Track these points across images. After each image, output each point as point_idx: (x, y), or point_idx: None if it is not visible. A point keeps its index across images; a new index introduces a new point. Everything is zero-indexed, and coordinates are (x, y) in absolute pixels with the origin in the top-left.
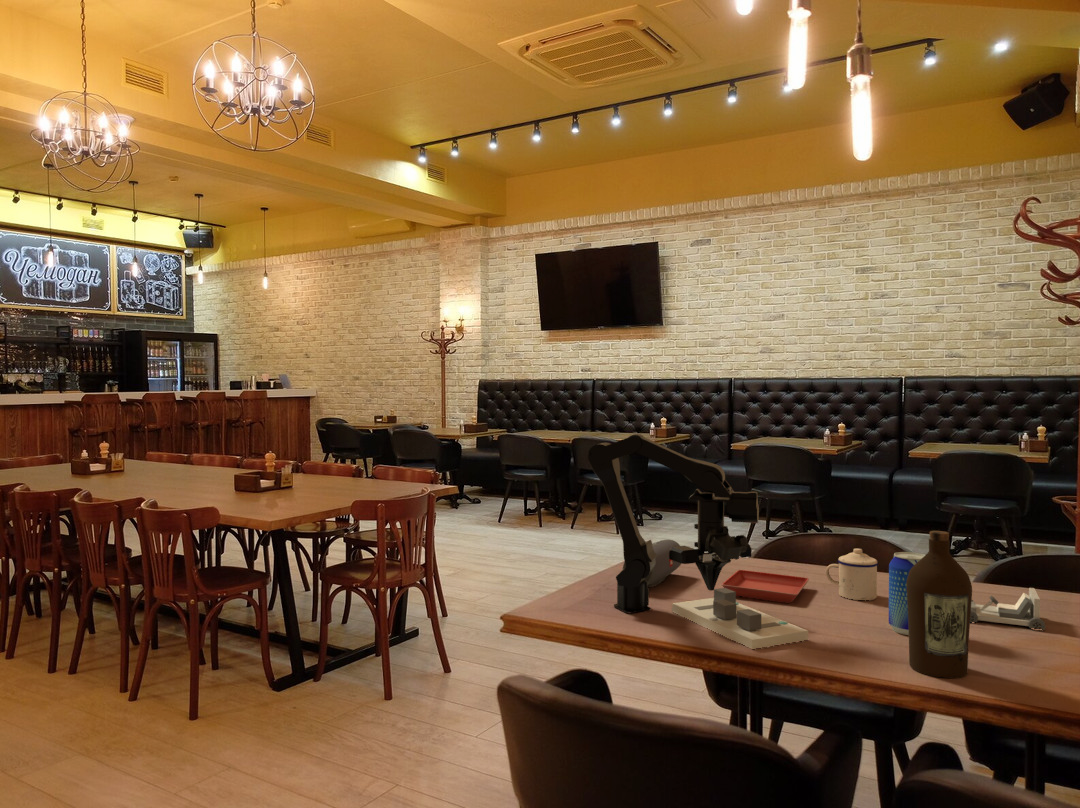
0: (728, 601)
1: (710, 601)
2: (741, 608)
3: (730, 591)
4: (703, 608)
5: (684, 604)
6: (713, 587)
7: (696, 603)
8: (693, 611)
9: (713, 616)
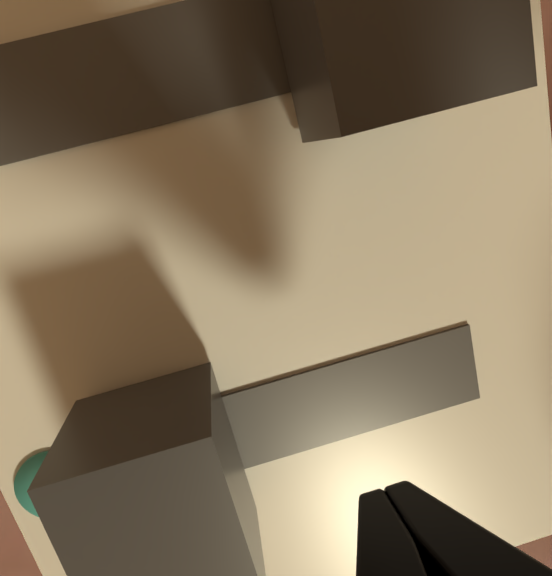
0: (334, 7)
1: None
2: (40, 322)
3: (96, 516)
4: (420, 354)
5: (509, 490)
6: (379, 510)
7: None
8: (537, 289)
9: None
